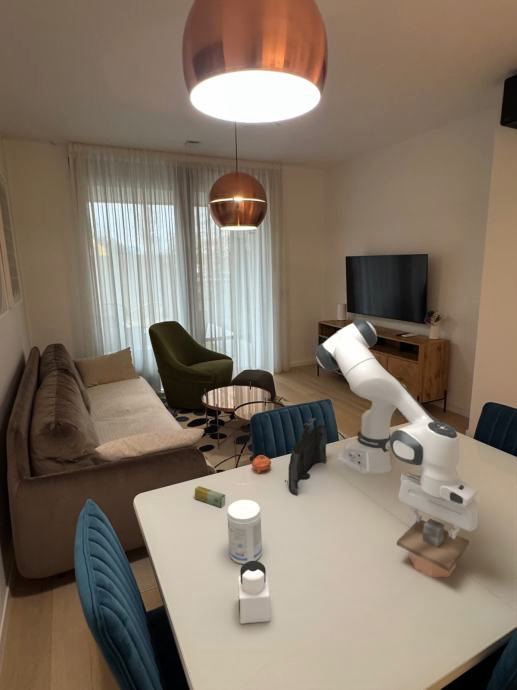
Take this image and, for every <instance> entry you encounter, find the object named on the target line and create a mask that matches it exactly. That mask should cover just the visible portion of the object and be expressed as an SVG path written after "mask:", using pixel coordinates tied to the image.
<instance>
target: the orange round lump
mask: <svg viewBox="0 0 517 690" xmlns="http://www.w3.org/2000/svg"><path fill="white" fill-rule="evenodd" d="M271 465H272V461H271V459H270V458H269V457H267V456H265V455H263V454H259V455H257V456H256V457H255V458H254V459H253V460H252V462H251V466H252V467H253V468H254V469H255V470H256V471H257V473H258V474H261V471H265V470H267V469H268V471H270V470H271Z"/></svg>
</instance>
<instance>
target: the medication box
mask: <svg viewBox="0 0 517 690" xmlns="http://www.w3.org/2000/svg"><path fill="white" fill-rule="evenodd" d="M195 499H196V500H198V501H200V502H203V503H206V504H209V505H212V506H214V507H216V508H219V509H222V508H224V506H225V505H226V494H224V493H222V492H218V491H214V490H212V489H210V488H209V489H208V488H206V487H203V486H201V485H200V486H199V485H198V486H196V487H195V488H194V500H195Z"/></svg>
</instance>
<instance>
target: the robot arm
mask: <svg viewBox="0 0 517 690" xmlns="http://www.w3.org/2000/svg"><path fill="white" fill-rule="evenodd" d="M377 341H378V336H377V330H376V328H375V327H374V326H373V324H372V323H370V322H369V321H368V320H366V319H364V318H359V319H355V320H354V321H352V323H350V324H347V325H346V326H344V327H343V328H340V329H339V330H337V331H336V332H335V333H334V334H333V335H331V336H330V337H329V338H327V339H326V340H325V341H324V342H323V343H320V344H319V345H318V346H317V347H316V348H315V352H314V353H315V356H316V357H315V358H316V361H317V363H318V364H319V366H320V367H322V368H323V369H324V370H325V371H327V372H334V371H338V370H340V371H341V373H342V374H343V377H344V379H346V381H347V383H348V384H349V387H350V390H351V392H352V393H354V394H355V395H357V396H358V397H360V398H363V399H366V400H368V401H370V402H371V406H370V408H369V409H367V410H366V411H365V412H363V414H362V416H361V430H359V431H357V432H356V433H355V437H357V438H355V439H353V440H351V441H349V442H348V443H347V444H346V445H345V446H344V447H343V451H342V452H340V453H339V454H338V455H337V461H338V462H340V463H342V464H343V465H345V466H347V467H349V468H351V469H352V470H355V471H356V472H358V473H360V474H362V475H365V474H367V475H368V474H375V475H377V474H386V473H388V472H390V471H391V470H392V468H393V465H392V461H391V455H390V449H391V452H392V453H393V456H395V457H396V458H397V459H398V460H399V461H401V462H403V463H406V464H409V465H412V466H420V475H418V474H413V473H412V472H409V471H406V472H405V471H404V472H402V473H401V474H400V481H399V482H400V486H399V493H398V499H399V501H400V503H401V504H403V505H407V506H409V507H410V511H411V513H412V515H413V522H414V523H416V522H417V523H420V522H421V521H422V520H423V519H422V518H423V515H421V514H420V513H419V512H422V513H425V514H427V515H429V516H432V517H434V518H436V519H439V520H441V521H443V522H446V523H448V524H451V525H453V528H450V530H449V531H448V532H449V535H448V537H450V538H452V539H455V538H456V536H458V534H457V533H458V532H460V530H461V529H462V530H464V531H467V532H469V533H471V532H473V531H475V529H477V526H479V525H478V524H479V507H478V502H477V501H476V500H475V498H476V496H477V491H476V489H475V488H473V487H472V486H471V485H469V484H467V483H466V482H464V481H463V480H461V479H460V478H459V477H458V472H457V466H458V464H459V459H460V439H459V435H458V433H457V430H456V429H454V428H453V427H452V426H451V425H449V424H447V423H444V422H441V421H440V420H439V419H437V418H436V417H435V416H433V415H432V414H431V413H429V411H427V409H425V407H424V406H423V405H422V404H421V403H420V402H419V400H418V399H417V398H416V397H415V395H413V394H412V393H411V392H410V390H409V389H408V388H407V386H406V385H405V384H404V383H402V381H400V380H398V379H397V378H396V377H395V376H393V375H391V374H390V373H389V372H388V371H387V370H386V369H385V368H384V367H383V366H382V365H381V364H380V363H379V361H378V360H377V359H376V357H375V355H374V354H373V353H372V352H371V351H370V349H369V348H372V347H373V346H374V345H375V344H376V343H377ZM397 409H398V410H399V412H400V413H401V414H402V416H404V418H405V419H406V420H407V421H408V423H409V424H408V425H406V426H403V427H400V428H398V429H395V430H394V431H393V432H392V433H391V434H390V432H391V431H390V430H391V420H392V416H393V414H394V412H395V411H396V410H397Z"/></svg>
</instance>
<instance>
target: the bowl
mask: <svg viewBox="0 0 517 690" xmlns="http://www.w3.org/2000/svg"><path fill="white" fill-rule="evenodd" d="M408 556H409V558H410V561H411V563H412V565H413V567H414V569H416V570H418V571H420V572H421V573H423V574H426V575H427V576H429V577H431V578H448V577H450V576H451V574H452V573H453V572H454V570H455V569H456V568H457V567H456V566H457V562H456V563H455V564H454V565H453V567H452V568H451V569H450V571H447V570H445V569H443V568H441V567H439V566H437V565H435V564H433V563H431V562H429V561H427V560H425V559H423V558H421V557H419V556H417V555H415V554H413V553H411V552H409V551H408Z"/></svg>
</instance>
